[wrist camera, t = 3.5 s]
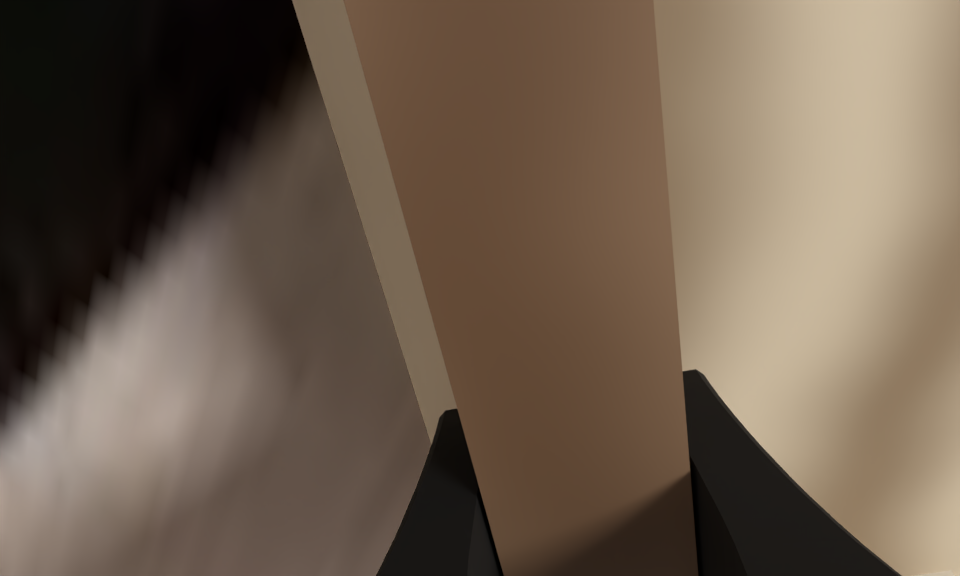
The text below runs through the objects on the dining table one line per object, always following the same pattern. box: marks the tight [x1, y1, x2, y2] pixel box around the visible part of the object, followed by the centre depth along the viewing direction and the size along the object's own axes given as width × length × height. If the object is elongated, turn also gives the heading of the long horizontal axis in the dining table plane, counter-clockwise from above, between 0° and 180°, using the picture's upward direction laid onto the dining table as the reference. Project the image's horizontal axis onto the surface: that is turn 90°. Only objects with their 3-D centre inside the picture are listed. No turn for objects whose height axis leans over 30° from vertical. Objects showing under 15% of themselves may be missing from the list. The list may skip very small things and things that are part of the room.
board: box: [292, 0, 960, 576], centre depth 19 cm, size 20×32×1 cm, turn 11°
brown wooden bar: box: [343, 0, 698, 576], centre depth 12 cm, size 2×18×3 cm, turn 11°
